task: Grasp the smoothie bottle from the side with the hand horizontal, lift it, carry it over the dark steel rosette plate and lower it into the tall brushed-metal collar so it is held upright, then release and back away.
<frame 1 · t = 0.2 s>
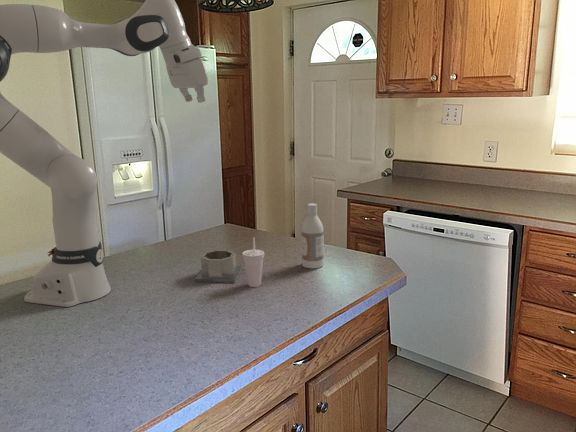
hand: (195, 101, 147), 52 cm above the worktop, tool tilted 20°, fingers open, 8 cm apart
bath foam: (312, 266, 158), on the worktop
smoothie: (254, 285, 143), on the worktop
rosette: (219, 275, 151), on the worktop
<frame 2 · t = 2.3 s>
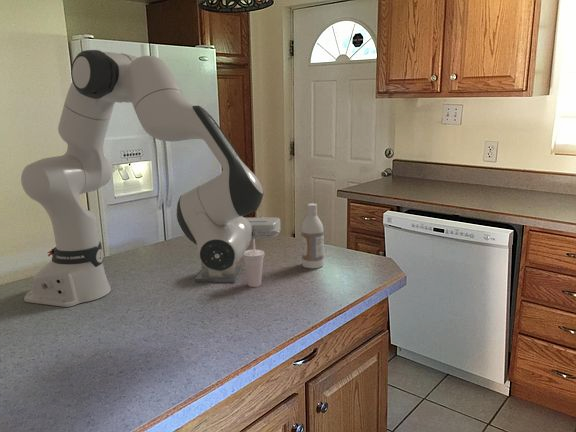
hand: (243, 219, 127), 22 cm above the worktop, tool horizontal, fingers open, 8 cm apart
nothing on the worktop moved.
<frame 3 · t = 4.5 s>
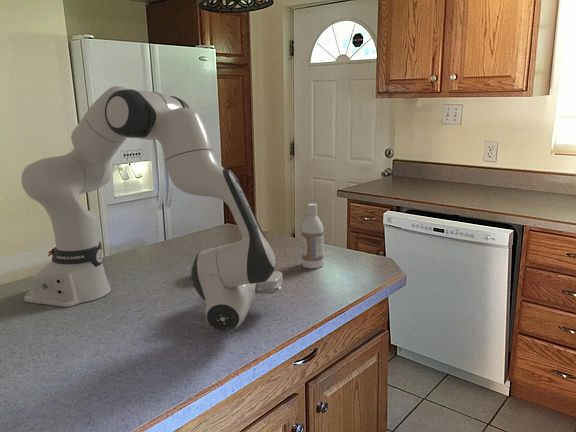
hand: (248, 270, 134), 7 cm above the worktop, tool horizontal, fingers open, 8 cm apart
nothing on the worktop moved.
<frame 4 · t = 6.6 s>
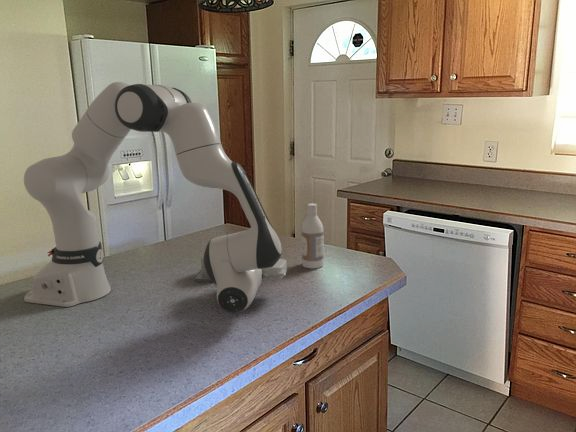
hand: (254, 258, 142), 8 cm above the worktop, tool horizontal, fingers closed on smoothie, 6 cm apart
smoothie: (254, 285, 143), on the worktop, touching gripper
everything else where it was.
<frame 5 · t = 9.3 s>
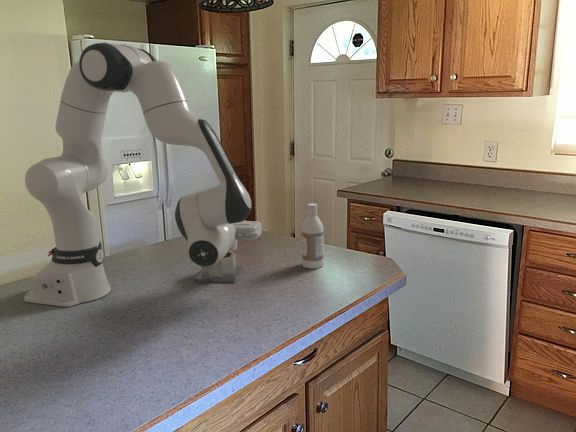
hand: (230, 222, 145), 17 cm above the worktop, tool horizontal, fingers closed on smoothie, 6 cm apart
smoothie: (230, 249, 146), point 9 cm above the worktop, touching gripper
everything else where it was.
when the fingers open (10 cm above the worktop, at t = 12.2 s): smoothie moves 1 cm, resting on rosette.
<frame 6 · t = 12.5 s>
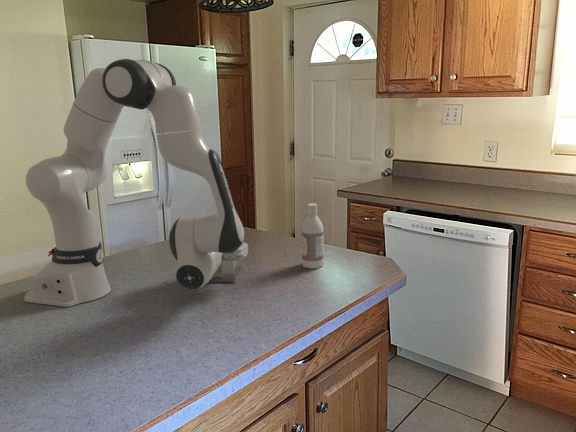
hand: (218, 242, 150), 10 cm above the worktop, tool horizontal, fingers open, 8 cm apart
smoothie: (215, 269, 151), point 2 cm above the worktop, touching gripper, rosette
everything else where it was.
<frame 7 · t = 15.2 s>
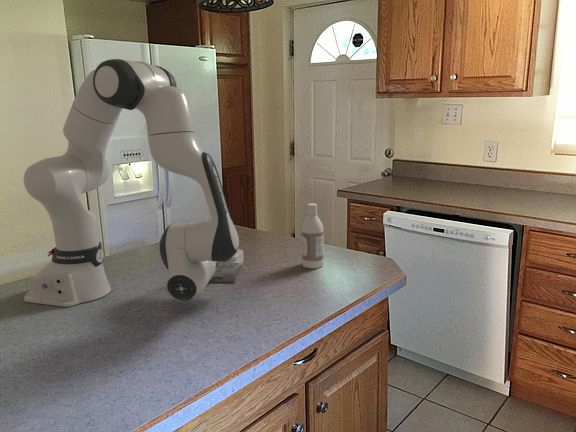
hand: (212, 249, 143), 10 cm above the worktop, tool horizontal, fingers open, 8 cm apart
smoothie: (223, 272, 151), point 1 cm above the worktop, touching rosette
everything else where it was.
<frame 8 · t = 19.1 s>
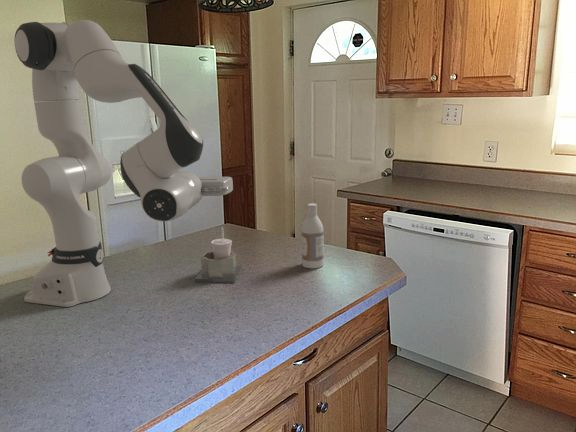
hand: (199, 180, 129), 32 cm above the worktop, tool horizontal, fingers open, 8 cm apart
nothing on the worktop moved.
at the end: smoothie 1.1 cm from the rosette (horizontally); smoothie point 0.8 cm above the worktop; smoothie tilted 0° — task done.
